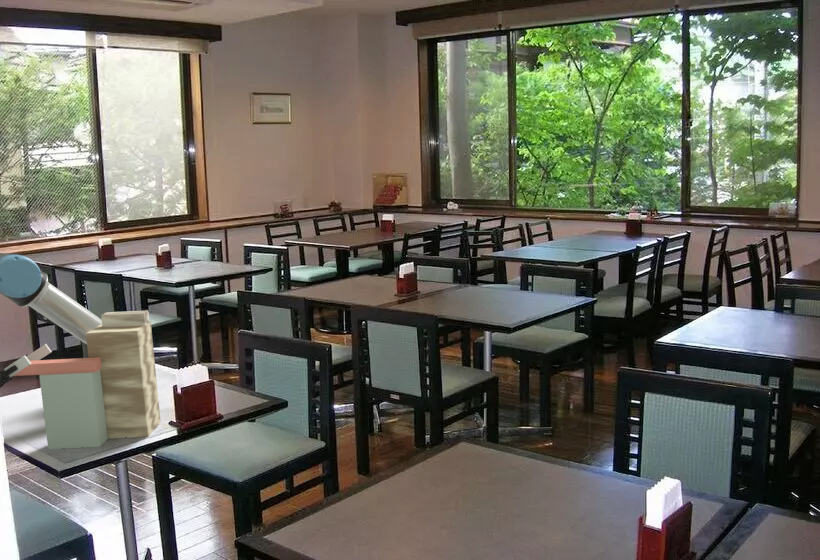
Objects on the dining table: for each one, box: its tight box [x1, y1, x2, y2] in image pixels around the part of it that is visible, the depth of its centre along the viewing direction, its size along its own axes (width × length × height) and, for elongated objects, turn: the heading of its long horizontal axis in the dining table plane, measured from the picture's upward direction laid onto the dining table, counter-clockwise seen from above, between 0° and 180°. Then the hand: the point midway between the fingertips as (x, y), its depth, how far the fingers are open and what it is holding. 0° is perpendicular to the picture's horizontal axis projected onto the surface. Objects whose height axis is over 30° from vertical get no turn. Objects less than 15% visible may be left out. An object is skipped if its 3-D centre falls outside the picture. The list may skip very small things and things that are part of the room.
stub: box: [13, 357, 102, 377], centre depth 227 cm, size 4×23×3 cm, turn 90°
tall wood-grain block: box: [86, 309, 162, 439], centre depth 237 cm, size 12×14×34 cm
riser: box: [38, 370, 109, 450], centre depth 229 cm, size 6×14×20 cm, turn 90°
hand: (38, 353), depth 227 cm, fingers open, 12 cm apart
